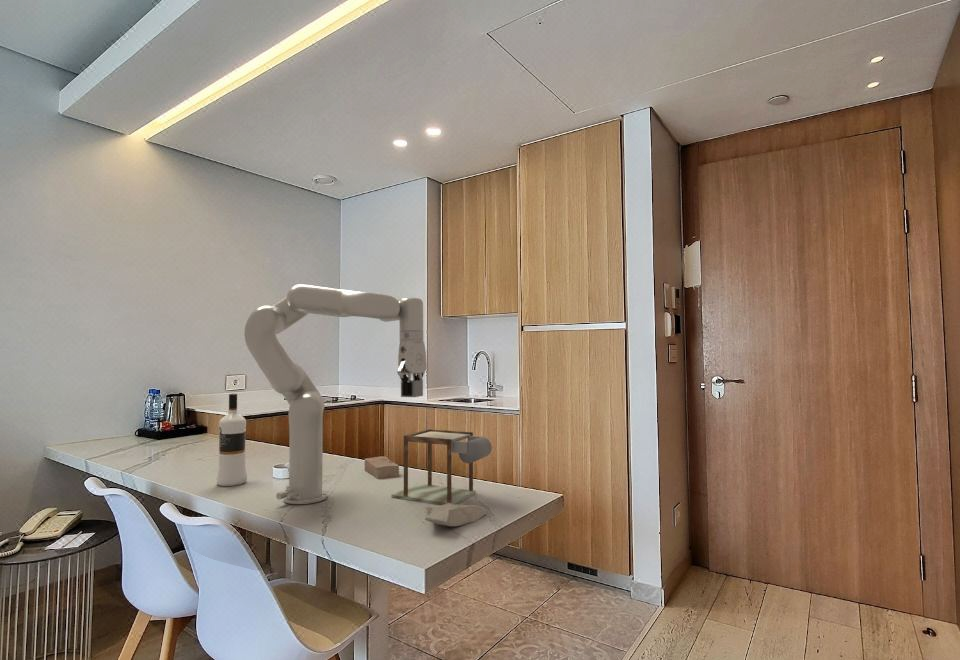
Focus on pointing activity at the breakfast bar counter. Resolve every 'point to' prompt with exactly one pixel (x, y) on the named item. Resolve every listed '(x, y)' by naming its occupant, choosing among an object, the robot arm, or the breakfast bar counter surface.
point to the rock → (454, 514)
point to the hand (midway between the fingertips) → (412, 394)
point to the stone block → (415, 388)
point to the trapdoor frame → (430, 491)
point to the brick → (381, 467)
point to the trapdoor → (465, 445)
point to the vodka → (232, 447)
